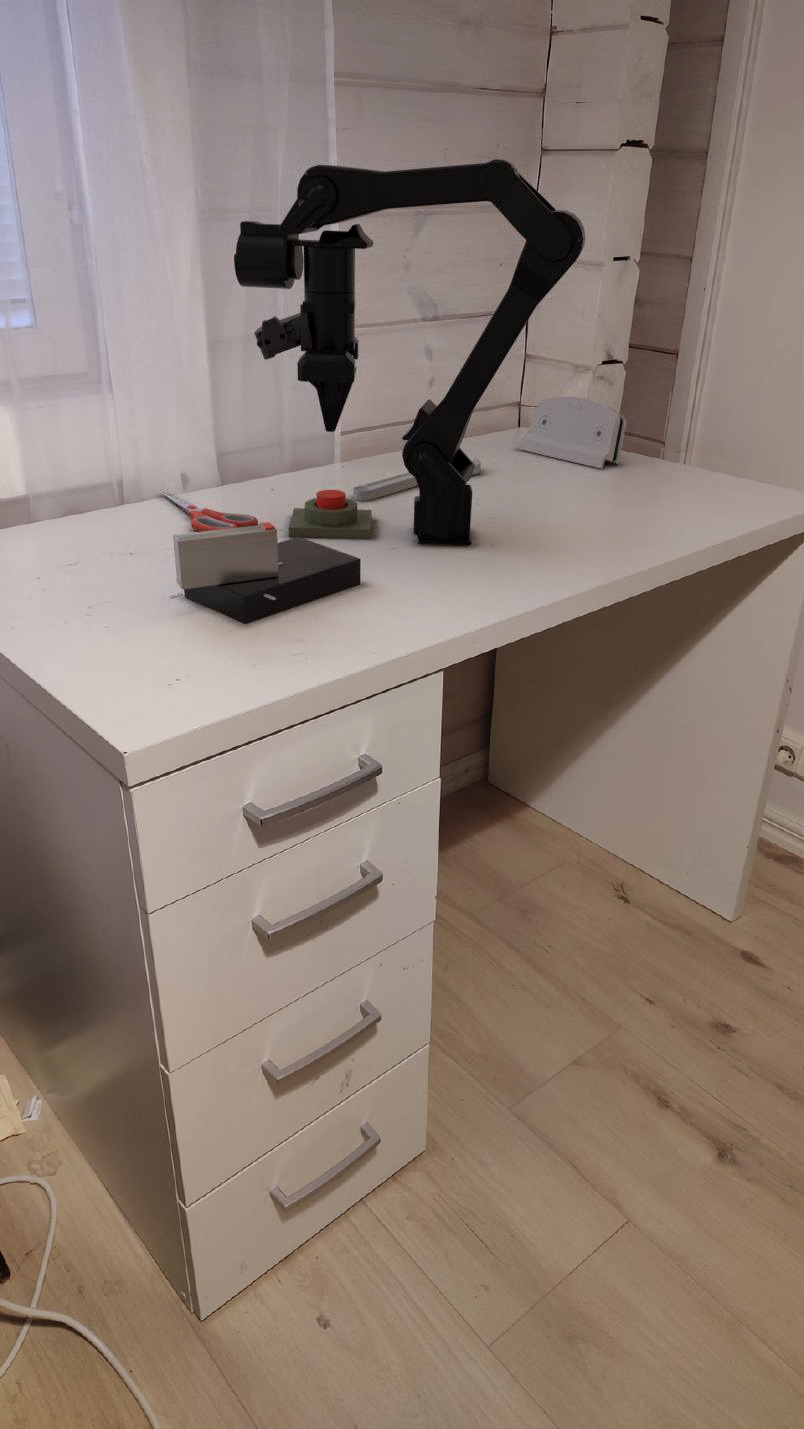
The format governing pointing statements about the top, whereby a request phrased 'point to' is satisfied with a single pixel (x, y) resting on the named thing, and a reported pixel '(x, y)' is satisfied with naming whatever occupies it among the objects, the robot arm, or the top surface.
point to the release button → (331, 499)
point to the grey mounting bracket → (576, 431)
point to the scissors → (213, 518)
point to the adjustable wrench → (392, 485)
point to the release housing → (330, 521)
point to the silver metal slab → (226, 556)
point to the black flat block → (283, 583)
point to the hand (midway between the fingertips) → (330, 431)
